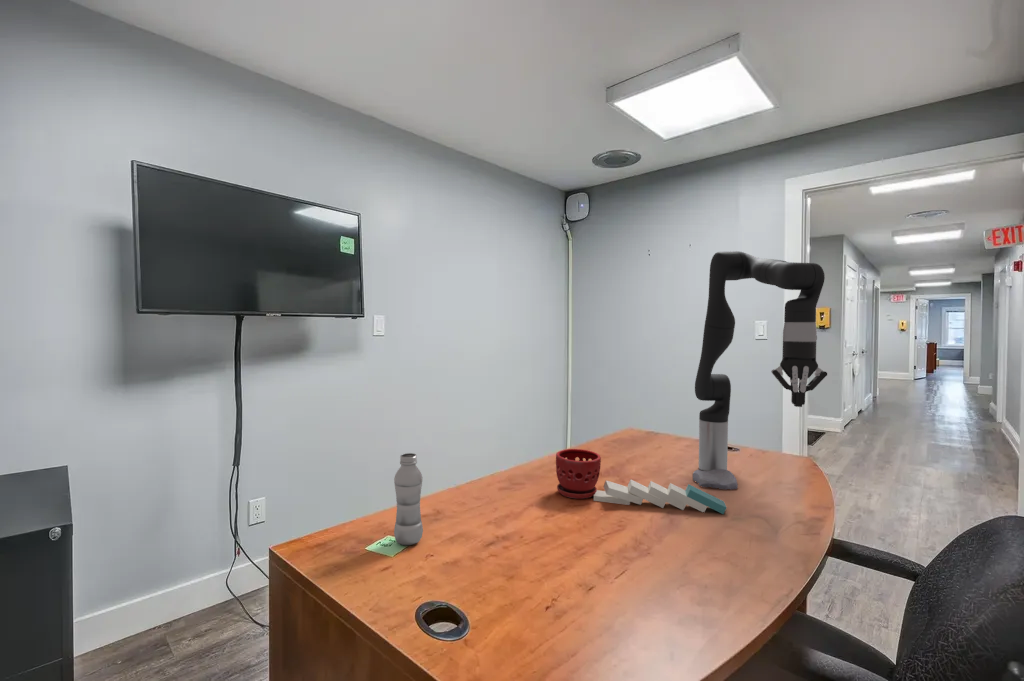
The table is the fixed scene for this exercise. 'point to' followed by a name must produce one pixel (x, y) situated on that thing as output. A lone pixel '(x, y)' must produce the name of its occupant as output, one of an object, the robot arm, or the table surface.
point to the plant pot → (577, 473)
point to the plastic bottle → (408, 501)
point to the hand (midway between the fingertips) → (797, 406)
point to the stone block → (716, 479)
